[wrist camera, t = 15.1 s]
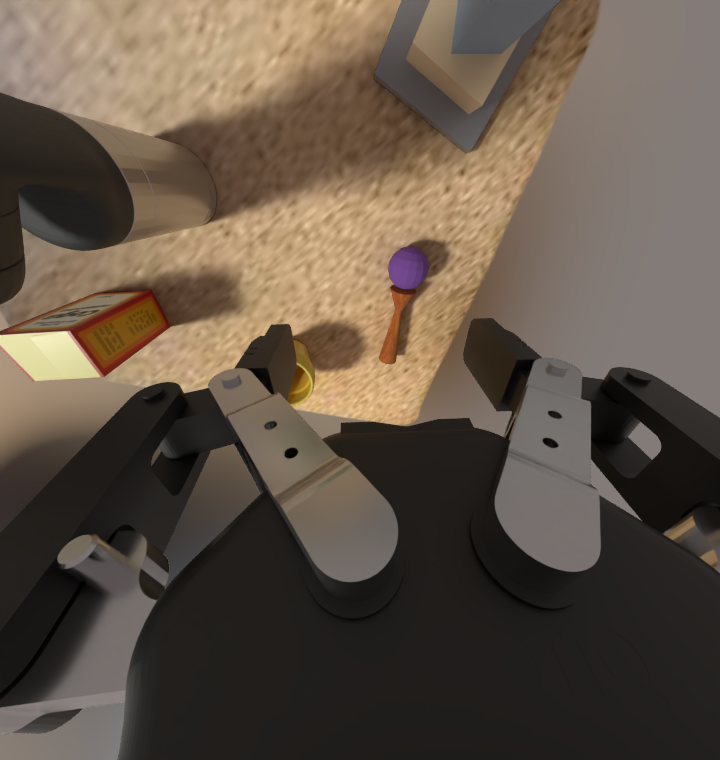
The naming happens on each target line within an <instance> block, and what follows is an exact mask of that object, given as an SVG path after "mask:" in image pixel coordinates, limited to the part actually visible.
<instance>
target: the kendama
mask: <svg viewBox="0 0 720 760" xmlns="http://www.w3.org/2000/svg"><path fill="white" fill-rule="evenodd" d="M428 269H429V266H428V259H427V258H426V256H425V254H424V252H423V251H421V250H420V249H418V248H416V247H413V246H409V247H404V248H401V249H400V250H398V251H397V252H396V253H394V255H393V256H392V258H391V260H390V262H389V267H388V271H389V276H390V279H391V281H392V282H393V283H394V285H392V286H391V287H390V288H391V292H392V296H393V301H394V305H395V312H394V315H393V318H392V321H391V324H390V327H389V330H388V333H387V336H386V338H385V341H384V344H383V347H382V350H381V353H380V356H379V360H380V361H381V362H383V363H385V364H393V363H395V362H396V356H397V347H398V339H399V331H400V322H401V314H402V310H403V308H404V307H405V306H406V305H407V303H408V302H409V301H410V300H411V298H412V297H413V296H414V295H415V293H416V290H415V289H413V288H415V287H417V286H419V285H420V284H421V283H422V282H423V280H424V279H425V278H426V276H427V272H428Z"/></svg>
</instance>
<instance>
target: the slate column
mask: <svg viewBox="0 0 720 760" xmlns="http://www.w3.org/2000/svg"><path fill="white" fill-rule="evenodd" d="M559 1H560V0H458V3H457V11H456V19H455V27H454V35H453V43H452V51H451V54H502V53H503V52H504V51H505V50H506V49H507V48H509V47H510V46H511V45H512V44H513V43H514V42H515V41H516V40H517V39H518V38H520V37H521V36H522V35H523V34H524V33H525V32H526V31H527V30H528V29H530V28H531V27H532V26H533V25H534V24H535V23H536V22H537V21H538V20H539V19H541V18H542V17H543V16H544V15H545V14H546V13H547V12H548V11H549V10H550V9H552V8H553V7H554V6H555V5H556V4H557V3H558V2H559Z"/></svg>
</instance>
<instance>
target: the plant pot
mask: <svg viewBox="0 0 720 760" xmlns="http://www.w3.org/2000/svg"><path fill="white" fill-rule="evenodd" d="M293 341H294V347H295V352H296V358H297V367H296V371H295V375H294V378H293V381H292V385H291V388H290V391H289V395H288V398H287V402H288V403H289V404H290V405H291V406H295V405H298V404H301V403H303V402H304V401H306V400H307V399H308V398H309V397H310V395H311V394H312V391H313V388H314V383H315V370H314V367H313V365H312V363H311V362H310V358H309V352H308V350H307V348H306V347H305V346H304V345H303V344H302V343H301V342H299V341H297V340H293Z"/></svg>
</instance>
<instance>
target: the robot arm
mask: <svg viewBox="0 0 720 760" xmlns="http://www.w3.org/2000/svg"><path fill="white" fill-rule="evenodd" d="M216 202H217V197H216V190H215V186H214V183H213V180H212V178H211V176H210V174H209V172H208V170H207V169H206V167H205V166H204V164H203V163H202V162H201V161H200V160H199V158H198V157H197V156H196V155H194V154H193V153H192V152H191V151H190V150H188V149H186V148H185V147H183V146H181V145H179V144H176V143H173V142H169V141H166V140H162V139H159V138H155V137H152V136H148V135H145V134H141V133H137V132H134V131H130V130H127V129H123V128H119V127H116V126H112V125H109V124H105V123H101V122H98V121H94V120H91V119H87V118H83V117H79V116H75V115H72V114H68V113H65V112H61V111H57V110H54V109H50V108H47V107H43V106H40V105H36V104H32V103H29V102H26V101H23V100H20V99H17V98H14V97H11V96H9V95H6V94H3V93H0V304H2V303H5V302H7V301H9V300H10V299H12V298H13V297H14V296H15V295H16V294H17V293H18V292H19V291H20V290H21V288H22V285H23V282H24V278H25V257H24V245H23V236H22V228H24V229H25V230H27V231H28V232H30V233H32V234H33V235H35V236H37V237H39V238H41V239H43V240H45V241H47V242H49V243H52V244H54V245H57V246H60V247H63V248H67V249H72V250H80V251H89V250H97V249H102V248H106V247H111V246H115V245H119V244H124V243H128V242H132V241H136V240H141V239H145V238H149V237H154V236H158V235H162V234H167V233H171V232H175V231H180V230H184V229H189V228H193V227H197V226H201V225H203V224H205V223H207V222H208V221H209V220H210V219H211V218H212V216H213V214H214V212H215V209H216ZM463 356H464V362H465V364H466V366H467V367H468V369H469V370H470V372H471V373H472V375H473V376H474V377H475V379H476V381H477V382H478V384H479V385H480V387H481V388H482V390H483V391H484V393H485V394H486V396H487V397H488V399H489V400H490V402H491V403H492V404H493V406H494V408H495V409H496V411H512V414H511V416H510V418H509V421H508V424H507V427H506V430H505V432H504V435H503V437H502V436H500V435H497V434H495V433H492V432H489V431H486V430H482V429H478V428H474V427H473V425H472V423H471V421H470V419H469V418H460V419H437V420H433V421H429V422H424V423H420V424H417V425H413V426H407V427H405V426H398V425H391V424H385V423H378V422H351V423H341V432H340V433H337V434H334V435H331V436H328V437H326V438H324V439H321V438H320V437H319V436H318V434H317V433H316V432H315V431H314V430H313V429H312V428H311V427H310V426H309V425H308V424H307V422H306V421H305V420H304V419H303V418H302V417H301V416H300V415H299V414H298V413H297V411H296V410H295V409H294V408H293V407H292V406H291V405H290V404H289V403H288V402H287V398H288V395H289V391H290V388H291V385H292V381H293V378H294V375H295V371H296V367H297V358H296V352H295V347H294V341H293V336H292V331H291V327H290V325H289V324H277V325H271V326H270V328H269V329H268V331H267V333H266V335H265V336H259V337H258V338H257V339H255V340H254V341H252V342H251V344H250V345H249V347H248V349H247V350H246V351H245V353H244V355H243V356H242V357H241V359H240V361H239V362H238V364H237V365H236V367H235V368H234V369H230V370H226V371H223V372H221V373H219V374H217V375H216V376H214V377H213V378H212V379H211V380H210V381H209V384H208V387H209V388H206V389H202V390H198V391H193V392H189V393H183V391H182V389H181V387H180V386H179V385H178V384H177V383H173V382H165V383H159V384H155V385H152V386H149V387H147V388H144V389H142V390H141V391H139V392H137V393H136V394H135V395H133V396H132V397H131V398H130V399H129V400H128V401H127V402H126V403H125V404H124V406H123V407H121V408H120V410H119V411H118V412H117V413H116V414H115V415H114V416H113V417H112V418H111V419H110V420H109V421H108V422H107V423H106V424H105V425H104V426H103V427H102V428H101V429H100V430H99V431H98V432H97V433H96V434H95V435H94V436H93V438H91V440H90V441H89V442H88V443H87V444H86V445H85V446H84V447H83V448H82V449H81V450H80V451H79V452H78V453H77V454H76V455H75V456H74V457H73V458H72V459H71V460H70V461H69V462H68V463H67V464H66V466H64V467H63V468H62V470H61V471H60V472H59V473H58V474H57V475H56V476H55V477H54V478H53V479H52V480H51V481H50V482H49V483H48V484H47V485H46V486H45V487H44V488H43V489H42V490H41V491H40V492H39V493H38V494H37V495H36V496H35V498H33V500H32V501H31V502H30V503H29V504H28V505H27V506H26V507H25V508H24V509H23V510H22V511H21V512H20V513H19V514H18V515H17V516H16V517H15V518H14V519H13V520H12V521H11V522H10V523H9V524H8V525H7V526H6V527H5V528H4V530H3V531H2V532H1V533H0V736H3V735H7V734H10V733H46V732H49V731H52V730H54V729H56V728H58V727H60V726H62V725H63V724H64V723H66V722H67V721H69V720H70V719H72V717H74V716H75V715H76V714H77V713H79V712H80V711H81V710H82V709H83V708H87V707H94V706H102V705H109V704H116V703H123V702H125V708H124V722H123V730H122V736H121V744H120V750H119V755H118V760H720V418H719V417H718V416H716V415H714V414H713V413H711V412H710V411H708V410H707V409H705V408H703V407H702V406H700V405H699V404H697V403H696V402H694V401H693V400H691V399H690V398H688V397H687V396H685V395H684V394H682V393H680V392H679V391H677V390H676V389H674V388H673V387H671V386H670V385H668V384H666V383H665V382H663V381H662V380H660V379H659V378H657V377H655V376H653V375H651V374H648V373H646V372H643V371H640V370H636V369H631V368H623V367H617V368H612V369H611V370H610V371H609V372H608V374H607V376H606V377H605V379H604V380H602V379H595V378H588V377H582V372H581V371H580V370H579V369H578V368H577V367H575V366H574V365H572V364H570V363H568V362H565V361H562V360H558V359H553V358H542V357H541V356H540V355H538V354H537V353H536V352H535V351H534V350H533V349H531V348H530V347H529V346H527V344H526V343H524V342H523V341H521V339H520V338H519V337H518V336H516V335H515V334H514V333H512V332H510V331H507V330H505V329H504V328H503V327H502V326H501V325H499V324H498V323H497V322H496V321H495V320H494V319H492V318H479V319H473V320H472V321H471V324H470V328H469V331H468V335H467V339H466V343H465V348H464V353H463ZM640 422H642V423H643V424H644V425H645V426H646V427H648V428H649V429H650V430H651V431H652V432H653V433H654V434H656V435H657V436H658V438H659V439H660V442H661V451H660V453H659V454H658V455H657V456H656V457H655V458H654V459H653V460H651V459H650V458H649V457H648V456H647V455H646V454H645V453H644V452H643V451H642V450H641V449H640V448H639V447H638V446H637V445H636V444H634V443H633V442H632V441H631V440H630V439H629V438H628V436H629V435H630V433H631V432H632V431H633V430H634V429H635V428H636V426H637V425H638V424H639V423H640ZM231 444H234V445H235V447H236V448H237V451H238V452H239V454H240V456H241V458H242V460H243V462H244V464H245V465H246V467H247V469H248V471H249V473H250V474H251V476H252V478H253V480H254V482H255V484H256V486H257V488H258V491H259V492H260V495H259V496H258V497H257V498H256V499H255V500H254V501H253V502H252V503H251V504H250V505H249V506H248V507H247V508H246V509H245V510H244V511H243V512H242V513H241V514H240V515H238V516H237V518H235V519H234V520H233V522H231V523H230V524H229V525H228V526H227V527H226V528H225V529H224V530H223V531H222V532H221V533H220V534H219V535H218V536H217V537H216V538H215V539H214V540H213V541H212V542H211V543H210V544H209V545H207V547H205V548H204V549H203V550H202V551H201V552H200V553H199V554H198V555H197V556H196V557H195V558H194V559H193V560H192V561H191V562H190V563H189V564H188V565H187V566H186V567H185V568H184V569H183V570H182V571H181V572H180V573H179V574H178V575H177V576H176V577H175V578H174V579H173V580H172V581H171V583H170V584H169V585H168V586H167V588H166V589H165V585H166V582H167V579H168V575H169V561H168V559H167V557H166V556H165V555H164V551H165V549H166V547H167V545H168V543H169V540H170V538H171V536H172V534H173V532H174V530H175V527H176V525H177V523H178V521H179V519H180V517H181V514H182V512H183V510H184V508H185V506H186V503H187V501H188V499H189V497H190V495H191V493H192V491H193V488H194V486H195V484H196V482H197V480H198V477H199V475H200V473H201V471H202V469H203V467H204V464H205V462H206V460H207V458H208V456H209V453H210V451H211V450H213V449H216V448H220V447H223V446H227V445H231ZM158 447H159V448H160V450H161V453H160V454H159V456H158V457H157V459H156V460H155V462H154V464H153V465H152V467H151V460H152V456H153V454H154V452H155V451H156V449H157V448H158ZM591 460H592V461H593V462H594V463H595V465H596V466H597V467H598V468H599V469H600V471H601V472H602V473H603V474H604V475H605V477H606V478H607V479H608V480H609V481H610V483H611V484H612V485H613V486H614V487H615V488H616V490H617V491H618V492H619V493H620V495H621V496H622V497H623V498H624V500H625V501H626V502H627V503H628V504H629V506H630V507H631V508H632V509H633V510H634V511H635V513H636V514H637V515H638V516H639V518H640V519H641V520H642V521H643V522H642V521H641V520H639V519H637V518H636V517H634V516H632V515H631V514H629V513H628V512H626V511H624V510H623V509H621V508H619V507H618V506H616V505H615V504H613V503H611V502H609V501H608V500H606V499H605V498H603V497H601V496H600V495H599V493H598V491H597V489H596V488H595V487H593V486H592V484H591Z"/></svg>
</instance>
